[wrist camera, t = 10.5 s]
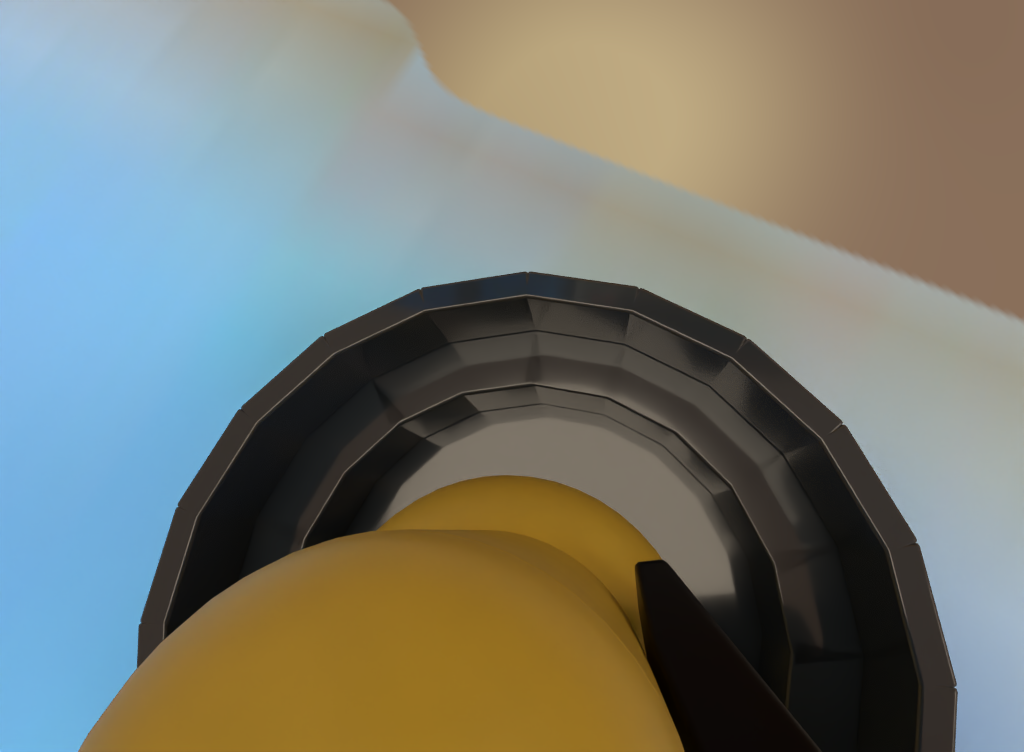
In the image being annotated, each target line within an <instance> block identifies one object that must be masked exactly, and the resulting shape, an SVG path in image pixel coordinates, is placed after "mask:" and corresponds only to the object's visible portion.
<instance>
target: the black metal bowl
mask: <svg viewBox="0 0 1024 752" xmlns="http://www.w3.org/2000/svg"><path fill="white" fill-rule="evenodd" d="M842 423H843V422H842V421H841V420H840V419H839V418H838V417H837V416H836V415H835V414H834V413H832V412H831V411H830V410H829V409H828V408H827V407H826V406H825V405H823V404H822V403H821V402H820V401H819V400H818V399H817V398H816V397H814V396H813V395H812V394H811V393H810V392H809V391H808V390H807V389H805V388H804V387H803V386H802V385H801V384H800V383H799V382H798V381H796V380H795V379H794V378H793V377H792V376H791V375H790V374H788V373H787V372H786V371H785V370H784V369H783V368H782V367H781V366H779V365H778V364H777V363H776V362H775V361H774V360H773V359H772V358H770V357H769V356H768V355H767V354H766V353H765V352H764V351H763V350H761V349H760V348H759V347H758V346H757V345H756V344H755V343H754V342H752V341H751V340H750V339H746V337H745V336H744V335H741V334H739V333H737V332H735V331H733V330H731V329H729V328H726V327H724V326H722V325H720V324H718V323H716V322H713V321H711V320H709V319H707V318H705V317H703V316H701V315H698V314H696V313H694V312H692V311H690V310H688V309H685V308H683V307H681V306H679V305H677V304H675V303H672V302H670V301H668V300H666V299H664V298H662V297H660V296H657V295H655V294H653V293H651V292H649V291H647V290H644V289H642V288H640V289H639V288H638V287H636V286H629V285H622V284H615V283H608V282H601V281H593V280H586V279H579V278H572V277H565V276H558V275H551V274H544V273H537V272H529V273H527V272H520V273H513V274H507V275H500V276H494V277H487V278H481V279H475V280H468V281H462V282H455V283H449V284H442V285H436V286H430V287H423V288H421V290H420V289H417V290H415V291H413V292H411V293H409V294H407V295H405V296H403V297H401V298H398V299H396V300H394V301H392V302H390V303H388V304H386V305H384V306H382V307H380V308H377V309H375V310H373V311H371V312H369V313H367V314H365V315H363V316H361V317H358V318H356V319H354V320H352V321H350V322H348V323H346V324H344V325H342V326H340V327H337V328H335V329H333V330H331V331H329V332H327V333H325V334H324V336H321V337H319V338H318V339H317V340H316V341H315V342H314V343H313V344H311V345H310V346H309V347H308V348H307V349H306V350H305V351H304V352H302V353H301V354H300V355H299V356H298V357H297V358H296V359H295V360H293V361H292V362H291V363H290V364H289V365H288V366H287V367H286V368H284V369H283V370H282V371H281V372H280V373H279V374H278V375H277V376H275V377H274V378H273V379H272V380H271V381H270V382H269V383H268V384H266V385H265V386H264V387H263V388H262V389H261V390H260V391H259V392H257V393H256V394H255V395H254V396H253V397H252V398H251V399H250V400H248V401H247V402H246V403H245V404H244V405H243V406H242V407H241V409H239V410H238V411H237V413H236V414H235V416H234V417H233V419H232V420H231V422H230V423H229V425H228V427H227V428H226V430H225V431H224V433H223V434H222V436H221V437H220V439H219V441H218V442H217V444H216V445H215V447H214V448H213V450H212V451H211V453H210V455H209V456H208V458H207V459H206V461H205V462H204V464H203V465H202V467H201V468H200V470H199V472H198V473H197V475H196V476H195V478H194V479H193V481H192V482H191V484H190V486H189V487H188V489H187V490H186V492H185V493H184V495H183V496H182V498H181V500H180V501H179V503H178V507H177V508H176V510H175V513H174V516H173V519H172V522H171V526H170V529H169V532H168V535H167V538H166V541H165V544H164V548H163V551H162V554H161V557H160V560H159V563H158V567H157V570H156V573H155V576H154V579H153V582H152V585H151V589H150V592H149V595H148V598H147V601H146V604H145V608H144V611H143V614H142V617H141V624H140V625H139V633H138V656H137V668H138V667H139V666H140V665H141V664H142V663H143V662H144V661H145V660H146V658H147V657H148V656H149V655H150V654H151V653H152V652H153V651H154V650H155V649H156V648H157V646H158V645H159V644H160V643H161V642H162V641H163V640H165V639H166V638H167V637H168V636H169V635H170V634H171V633H172V632H174V631H175V630H176V629H177V628H178V627H179V626H180V625H182V624H183V623H184V622H185V621H186V620H187V619H189V618H190V617H191V616H192V615H193V614H194V613H196V612H197V611H198V610H199V609H200V608H201V607H203V606H204V605H205V604H206V603H207V602H208V601H209V600H211V599H212V598H214V597H215V596H217V595H218V594H220V593H221V592H223V591H224V590H226V589H227V588H229V587H230V586H232V585H233V584H235V583H236V582H238V581H239V580H241V579H242V578H244V577H246V576H248V575H250V574H251V573H253V572H255V571H257V570H259V569H261V568H263V567H265V566H267V565H269V564H271V563H273V562H275V561H277V560H279V559H281V558H283V557H285V556H287V555H289V554H291V553H293V552H296V551H299V550H302V549H305V548H308V547H311V546H313V545H316V544H319V543H322V542H325V541H328V540H332V539H335V538H339V537H344V536H349V535H354V534H359V533H364V532H370V531H376V530H378V529H379V528H380V527H381V526H382V525H383V524H384V523H386V522H387V521H388V520H389V519H390V518H391V517H392V516H394V515H395V514H397V513H398V512H400V511H401V510H402V509H404V508H405V507H407V506H408V505H410V504H411V503H413V502H414V501H416V500H418V499H419V498H421V497H423V496H425V495H427V494H429V493H431V492H433V491H435V490H437V489H439V488H442V487H445V486H448V485H451V484H454V483H457V482H460V481H464V480H469V479H474V478H479V477H484V476H499V475H514V476H529V477H535V478H540V479H545V480H550V481H555V482H558V483H561V484H564V485H567V486H569V487H572V488H575V489H578V490H580V491H582V492H584V493H586V494H588V495H590V496H592V497H594V498H596V499H598V500H600V501H601V502H603V503H604V504H606V505H607V506H609V507H610V508H612V509H613V510H615V511H616V512H618V513H619V514H620V515H621V516H623V517H624V518H625V519H626V520H627V521H628V522H630V523H631V524H632V525H633V526H634V527H635V528H636V529H638V530H639V532H640V533H641V534H642V535H643V536H644V537H645V538H646V539H647V541H648V542H649V543H650V544H651V545H652V546H653V547H654V548H655V550H656V551H657V552H658V554H659V555H660V557H661V558H662V560H664V561H666V562H667V563H668V564H669V565H670V566H671V567H672V569H673V570H674V571H675V572H676V574H677V575H678V576H679V577H680V578H681V580H682V581H683V582H684V583H685V585H686V586H687V587H688V588H689V589H690V591H691V592H692V593H693V594H694V596H695V597H696V598H697V599H698V600H699V602H700V603H701V604H702V605H703V607H704V608H705V609H706V610H707V612H708V613H709V614H710V615H711V616H712V618H713V619H714V620H715V621H716V623H717V624H718V625H719V626H720V627H721V629H722V630H723V631H724V632H725V634H726V635H727V636H728V637H729V638H730V640H731V641H732V642H733V643H734V645H735V646H736V647H737V648H738V650H739V651H740V652H741V653H742V654H743V656H744V657H745V658H746V659H747V661H748V662H749V663H750V664H751V665H752V667H753V668H754V669H755V670H756V672H757V673H758V674H759V675H760V676H761V678H762V679H763V680H764V681H765V683H766V684H767V685H768V686H769V688H770V689H771V690H772V691H773V692H774V694H775V695H776V696H777V697H778V699H779V700H780V701H781V702H782V703H783V705H784V706H785V707H786V708H787V710H788V711H789V712H790V713H791V714H792V716H793V717H794V718H795V719H796V721H797V722H798V723H799V724H800V726H801V727H802V728H803V729H804V730H805V732H806V733H807V734H808V735H809V737H810V738H811V739H812V740H813V741H814V743H815V744H816V745H817V746H818V748H819V749H820V750H821V751H822V752H955V738H956V716H957V694H958V692H957V689H956V688H955V686H956V684H957V683H956V679H955V676H954V672H953V668H952V665H951V661H950V657H949V653H948V650H947V646H946V642H945V639H944V635H943V631H942V627H941V624H940V620H939V616H938V612H937V609H936V605H935V601H934V598H933V594H932V590H931V586H930V583H929V579H928V575H927V572H926V568H925V564H924V560H923V557H922V553H921V549H920V546H919V544H918V543H916V542H917V539H916V537H915V536H914V534H913V533H912V531H911V529H910V528H909V526H908V524H907V523H906V521H905V520H904V518H903V516H902V515H901V513H900V512H899V510H898V508H897V507H896V505H895V504H894V502H893V500H892V499H891V497H890V496H889V494H888V492H887V491H886V489H885V487H884V486H883V484H882V483H881V481H880V479H879V478H878V476H877V475H876V473H875V471H874V470H873V468H872V467H871V465H870V463H869V462H868V460H867V459H866V457H865V455H864V454H863V452H862V450H861V449H860V447H859V446H858V444H857V442H856V441H855V439H854V438H853V436H852V434H851V433H850V431H849V430H848V428H847V426H845V425H842Z"/></svg>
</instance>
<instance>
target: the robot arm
mask: <svg viewBox="0 0 1024 752" xmlns="http://www.w3.org/2000/svg"><path fill="white" fill-rule="evenodd" d="M635 579H636V589H637V600H638V609H639V616H640V622H641V627H642V633H643V639H644V645H645V651H646V656H647V660H648V662H649V665H650V667H651V670H652V672H653V674H654V677H655V679H656V682H657V684H658V686H659V689H660V691H661V694H662V696H663V698H664V701H665V703H666V706H667V708H668V710H669V713H670V715H671V718H672V720H673V722H674V725H675V727H676V730H677V732H678V734H679V737H680V740H681V743H682V745H683V748H684V751H685V752H822V751H821V750H820V749H819V748H818V746H817V745H816V744H815V743H814V741H813V740H812V739H811V738H810V737H809V735H808V734H807V733H806V732H805V730H804V729H803V728H802V727H801V726H800V724H799V723H798V722H797V721H796V719H795V718H794V717H793V716H792V714H791V713H790V712H789V711H788V710H787V708H786V707H785V706H784V705H783V703H782V702H781V701H780V700H779V699H778V697H777V696H776V695H775V694H774V692H773V691H772V690H771V689H770V688H769V686H768V685H767V684H766V683H765V681H764V680H763V679H762V678H761V676H760V675H759V674H758V673H757V672H756V670H755V669H754V668H753V667H752V665H751V664H750V663H749V662H748V661H747V659H746V658H745V657H744V656H743V654H742V653H741V652H740V651H739V650H738V648H737V647H736V646H735V645H734V643H733V642H732V641H731V640H730V638H729V637H728V636H727V635H726V634H725V632H724V631H723V630H722V629H721V627H720V626H719V625H718V624H717V623H716V621H715V620H714V619H713V618H712V616H711V615H710V614H709V613H708V612H707V610H706V609H705V608H704V607H703V605H702V604H701V603H700V602H699V600H698V599H697V598H696V597H695V596H694V594H693V593H692V592H691V591H690V589H689V588H688V587H687V586H686V585H685V583H684V582H683V581H682V580H681V578H680V577H679V576H678V575H677V574H676V572H675V571H674V570H673V569H672V567H671V566H670V565H669V564H668V563H667V562H666V561H664V560H651V561H641V562H638V563H637V564H636V565H635Z"/></svg>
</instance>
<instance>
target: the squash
mask: <svg viewBox="0 0 1024 752" xmlns="http://www.w3.org/2000/svg"><path fill="white" fill-rule="evenodd" d="M651 560H662V558H661V557H660V555H659V554H658V552H657V551H656V550H655V548H654V547H653V546H652V545H651V544H650V543H649V542H648V541H647V539H646V538H645V537H644V536H643V535H642V534H641V533H640V532H639V530H638V529H636V528H635V527H634V526H633V525H632V524H631V523H630V522H628V521H627V520H626V519H625V518H624V517H623V516H621V515H620V514H619V513H618V512H616V511H615V510H613V509H612V508H610V507H609V506H607V505H606V504H604V503H603V502H601V501H600V500H598V499H596V498H594V497H592V496H590V495H588V494H586V493H584V492H582V491H580V490H578V489H575V488H572V487H569V486H567V485H564V484H561V483H558V482H555V481H550V480H545V479H540V478H535V477H529V476H514V475H499V476H484V477H479V478H474V479H469V480H464V481H460V482H457V483H454V484H451V485H448V486H445V487H442V488H439V489H437V490H435V491H433V492H431V493H429V494H427V495H425V496H423V497H421V498H419V499H418V500H416V501H414V502H413V503H411V504H410V505H408V506H407V507H405V508H404V509H402V510H401V511H400V512H398V513H397V514H395V515H394V516H392V517H391V518H390V519H389V520H388V521H387V522H386V523H384V524H383V525H382V526H381V527H380V528H379V529H378V530H376V531H370V532H364V533H359V534H354V535H349V536H344V537H339V538H335V539H332V540H328V541H325V542H322V543H319V544H316V545H313V546H311V547H308V548H305V549H302V550H299V551H296V552H293V553H291V554H289V555H287V556H285V557H283V558H281V559H279V560H277V561H275V562H273V563H271V564H269V565H267V566H265V567H263V568H261V569H259V570H257V571H255V572H253V573H251V574H250V575H248V576H246V577H244V578H242V579H241V580H239V581H238V582H236V583H235V584H233V585H232V586H230V587H229V588H227V589H226V590H224V591H223V592H221V593H220V594H218V595H217V596H215V597H214V598H212V599H211V600H209V601H208V602H207V603H206V604H205V605H204V606H203V607H201V608H200V609H199V610H198V611H197V612H196V613H194V614H193V615H192V616H191V617H190V618H189V619H187V620H186V621H185V622H184V623H183V624H182V625H180V626H179V627H178V628H177V629H176V630H175V631H174V632H172V633H171V634H170V635H169V636H168V637H167V638H166V639H165V640H163V641H162V642H161V643H160V644H159V645H158V646H157V648H156V649H155V650H154V651H153V652H152V653H151V654H150V655H149V656H148V657H147V658H146V660H145V661H144V662H143V663H142V664H141V665H140V666H139V667H138V668H137V669H136V670H135V671H134V673H133V674H132V675H131V676H130V678H129V679H128V680H127V682H126V683H125V684H124V686H123V687H122V688H121V690H120V691H119V692H118V694H117V695H116V696H115V698H114V699H113V701H112V702H111V703H110V705H109V706H108V707H107V709H106V710H105V711H104V713H103V714H102V716H101V717H100V718H99V720H98V721H97V722H96V724H95V725H94V726H93V728H92V729H91V731H90V732H89V733H88V735H87V737H86V739H85V740H84V742H83V744H82V745H81V747H80V749H79V751H78V752H685V751H684V748H683V745H682V743H681V740H680V737H679V734H678V732H677V730H676V727H675V725H674V722H673V720H672V718H671V715H670V713H669V710H668V708H667V706H666V703H665V701H664V698H663V696H662V694H661V691H660V689H659V686H658V684H657V682H656V679H655V677H654V674H653V672H652V670H651V667H650V665H649V662H648V660H647V656H646V651H645V645H644V639H643V633H642V627H641V622H640V616H639V609H638V600H637V589H636V579H635V565H636V564H637V563H638V562H641V561H651Z"/></svg>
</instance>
